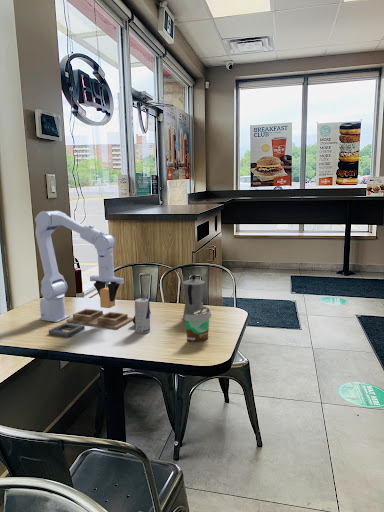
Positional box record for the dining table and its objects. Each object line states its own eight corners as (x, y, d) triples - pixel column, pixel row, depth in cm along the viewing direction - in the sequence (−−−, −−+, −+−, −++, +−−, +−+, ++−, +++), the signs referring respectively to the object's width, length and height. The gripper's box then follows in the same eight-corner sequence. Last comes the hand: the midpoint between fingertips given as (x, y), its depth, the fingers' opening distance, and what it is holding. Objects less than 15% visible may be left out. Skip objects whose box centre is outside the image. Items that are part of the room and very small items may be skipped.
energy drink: (152, 329, 144) (151, 298, 142) (146, 334, 139) (145, 302, 137) (139, 328, 146) (138, 297, 144) (133, 332, 141) (132, 301, 139)
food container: (200, 346, 128) (199, 317, 126) (184, 342, 131) (184, 314, 130) (217, 334, 138) (217, 308, 137) (202, 331, 142) (202, 305, 140)
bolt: (148, 318, 163) (141, 330, 148) (138, 313, 163) (130, 323, 148) (155, 307, 162) (148, 317, 147) (144, 301, 162) (137, 311, 147)
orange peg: (100, 307, 149) (99, 289, 148) (106, 304, 153) (105, 287, 152) (109, 308, 148) (108, 290, 147) (115, 305, 151) (114, 288, 150)
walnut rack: (66, 321, 154) (66, 315, 154) (85, 313, 165) (85, 307, 165) (117, 329, 145) (116, 322, 144) (134, 319, 156) (133, 313, 155)
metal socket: (48, 334, 141) (48, 330, 140) (65, 326, 149) (65, 322, 148) (68, 337, 137) (68, 333, 137) (84, 329, 145) (84, 325, 145)
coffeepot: (186, 312, 165) (185, 271, 162) (208, 313, 163) (207, 272, 160) (177, 324, 150) (177, 279, 147) (201, 325, 148) (201, 280, 145)
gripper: (84, 266, 147) (86, 301, 149) (115, 269, 141) (117, 304, 144) (95, 263, 154) (97, 296, 156) (126, 265, 148) (127, 300, 150)
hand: (107, 300), depth 150 cm, fingers closed on orange peg, 4 cm apart
